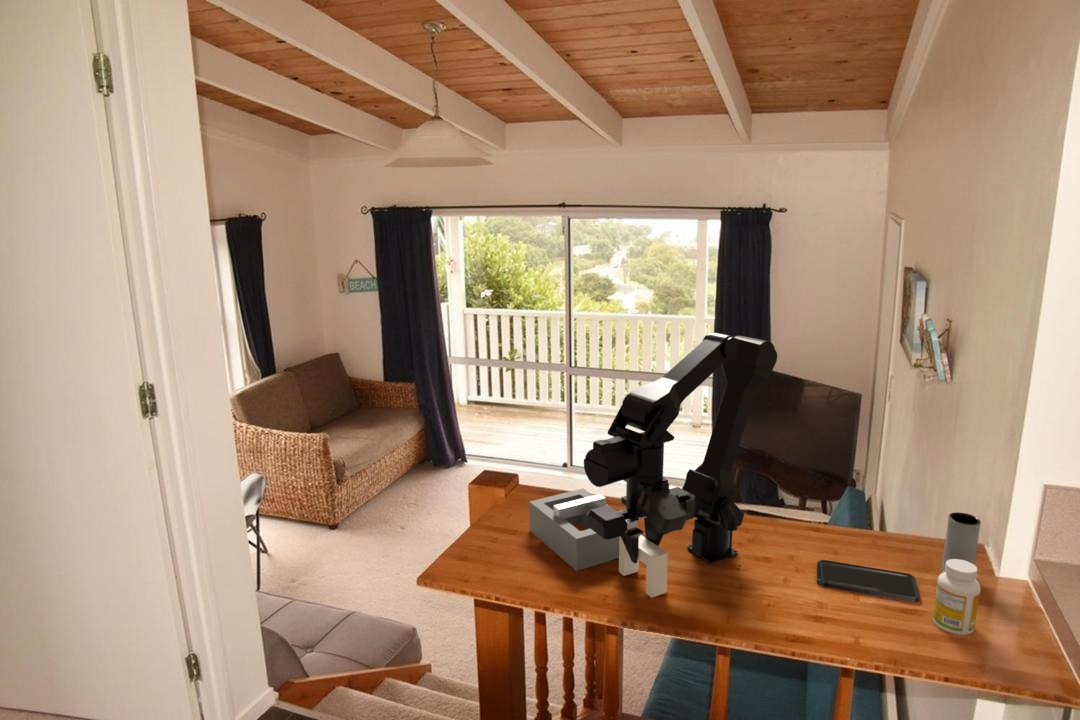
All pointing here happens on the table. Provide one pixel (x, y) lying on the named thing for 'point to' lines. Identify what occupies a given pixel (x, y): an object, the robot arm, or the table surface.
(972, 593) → the supplement bottle
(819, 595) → the table surface
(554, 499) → the frame
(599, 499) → the cross bar
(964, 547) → the grey hollow cylinder
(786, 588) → the table surface
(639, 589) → the table surface
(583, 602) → the table surface
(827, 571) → the phone
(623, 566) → the cream block
